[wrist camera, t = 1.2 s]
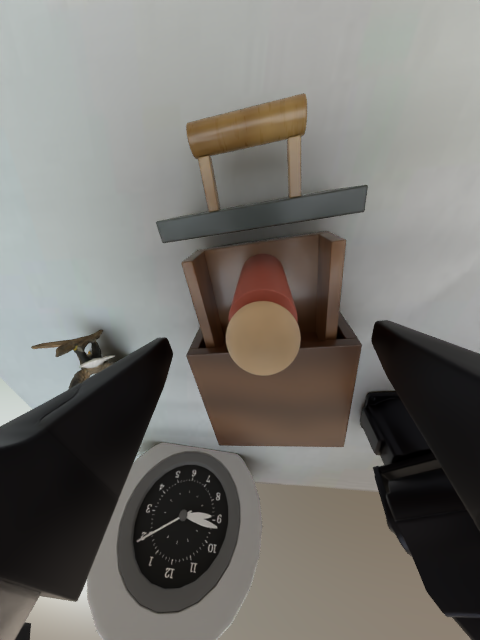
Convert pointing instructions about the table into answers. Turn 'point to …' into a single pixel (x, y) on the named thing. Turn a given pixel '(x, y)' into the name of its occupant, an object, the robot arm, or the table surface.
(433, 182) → the table surface
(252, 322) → the peg doll
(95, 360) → the eagle figurine
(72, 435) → the robot arm
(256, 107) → the drawer
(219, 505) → the alarm clock
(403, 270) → the table surface
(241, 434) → the cabinet
